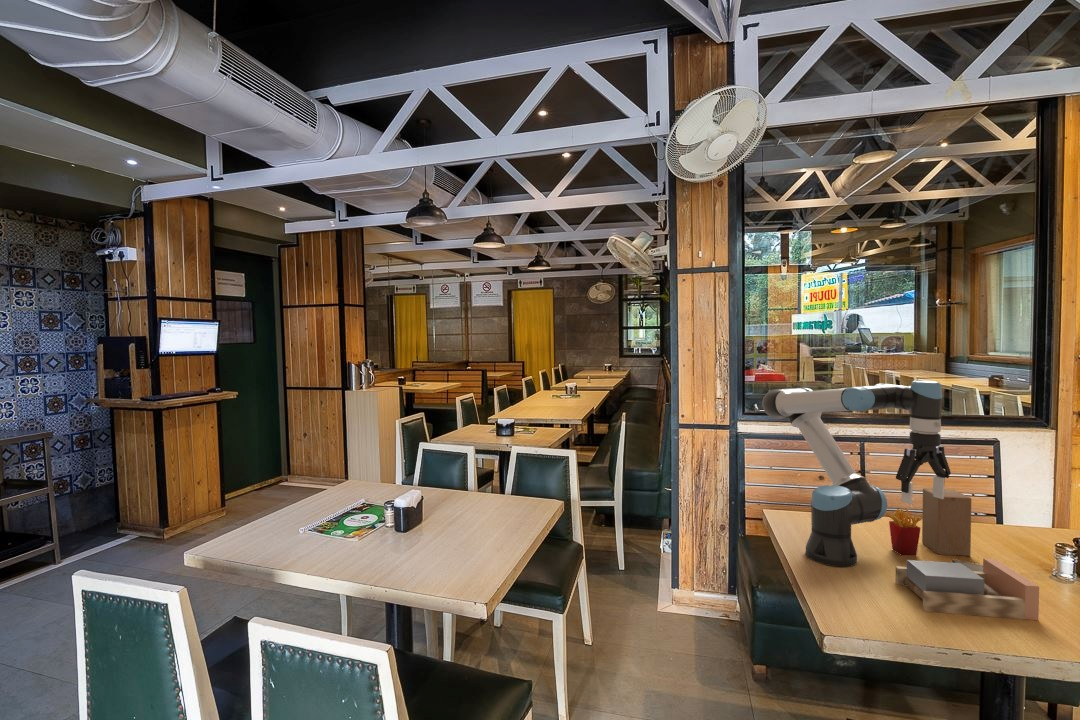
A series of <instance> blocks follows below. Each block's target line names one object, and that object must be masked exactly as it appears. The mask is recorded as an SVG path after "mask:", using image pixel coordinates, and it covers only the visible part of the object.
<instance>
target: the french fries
mask: <svg viewBox="0 0 1080 720" xmlns="http://www.w3.org/2000/svg"><path fill="white" fill-rule="evenodd" d="M903 509H904V510H905V511H906V512H905V511H904V510H903ZM903 509H902V508H900V509H896V510H895V511H894V512H893V514H894V515H891V514H890V513H888V512H886V513H885V516H886V517H888V518H890V519H891V520H889V521H888V524H889V525H888V526H889V532H890V541H891V549H893V550H892V551H894V552H895V551H896V552H895V553H897V552H898V553H897V554H898V555H900V554H901V555H900V556H902V555H915V556H916V557H917V555H918V554H917V553H918V547H919V542H920V541H919V540H920V536H921V535H920V534H921V527H920V526H918V525H917V523H919V522H920V521H922V517H918V518H915V516H913V515H912V516H911V513H910V512H909V510H908V508H907V507H906V506H905V507H904V508H903Z"/></svg>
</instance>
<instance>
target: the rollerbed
mask: <svg viewBox="0 0 1080 720" xmlns="http://www.w3.org/2000/svg"><path fill="white" fill-rule="evenodd" d="M973 572H974V573H976V574H977V575H979V576H980V577H982V578H983V579H984V595H977V594H963V593H949V592H935V591H922V590H921V589H920V588H919V587H918V586H917V585H916V584H915V583H913V582H912V581H911V580H910V579H909V578H908V577H907V566H897V565H895V573H894V574H895V575H894V577H895V578H894V579H895V581H894V582H895V584H897V585H898V586H907V587H908V589H910V590H911V591H912V592H914V594H915V595H917V596H918V597H919V599H921V600H922V609H923V611H925V612H929V613H938V614H939V613H940V614H955V615H966V616H967V615H968V616H981V617H994V618H1004V619H1016V620H1019V619H1020V620H1026V619H1025V600H1024V599H1022V598H1019V597H1005V596H1002V595H1001V594H999V593H998V592H997V591H995V590H994V589H992V588H991V587H990V586H988V585H987V584H986V573H984V572H978V571H973Z"/></svg>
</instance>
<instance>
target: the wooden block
mask: <svg viewBox="0 0 1080 720" xmlns="http://www.w3.org/2000/svg"><path fill="white" fill-rule="evenodd" d="M921 516H922V517H921V521H922V523H921V526H922V527H921V528H922V529H921V533H922V535H921V543H922V544H923V545H924V546H926V547H927V548H929V549H930V550H931V551H932V552H934V553H935V554H937V555H947V556H962V557H971V552H972V551H971V547H972V544H971V543H972V542H971V541H972V539H971V538H972V498H971V497H969V496H967V495H966V494H963V493H961V492H959V491H957V490H955V489H952V488H951V489H948V488H947V489H946V488H944V499H940V498H937V497H933V488H922V515H921Z"/></svg>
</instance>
